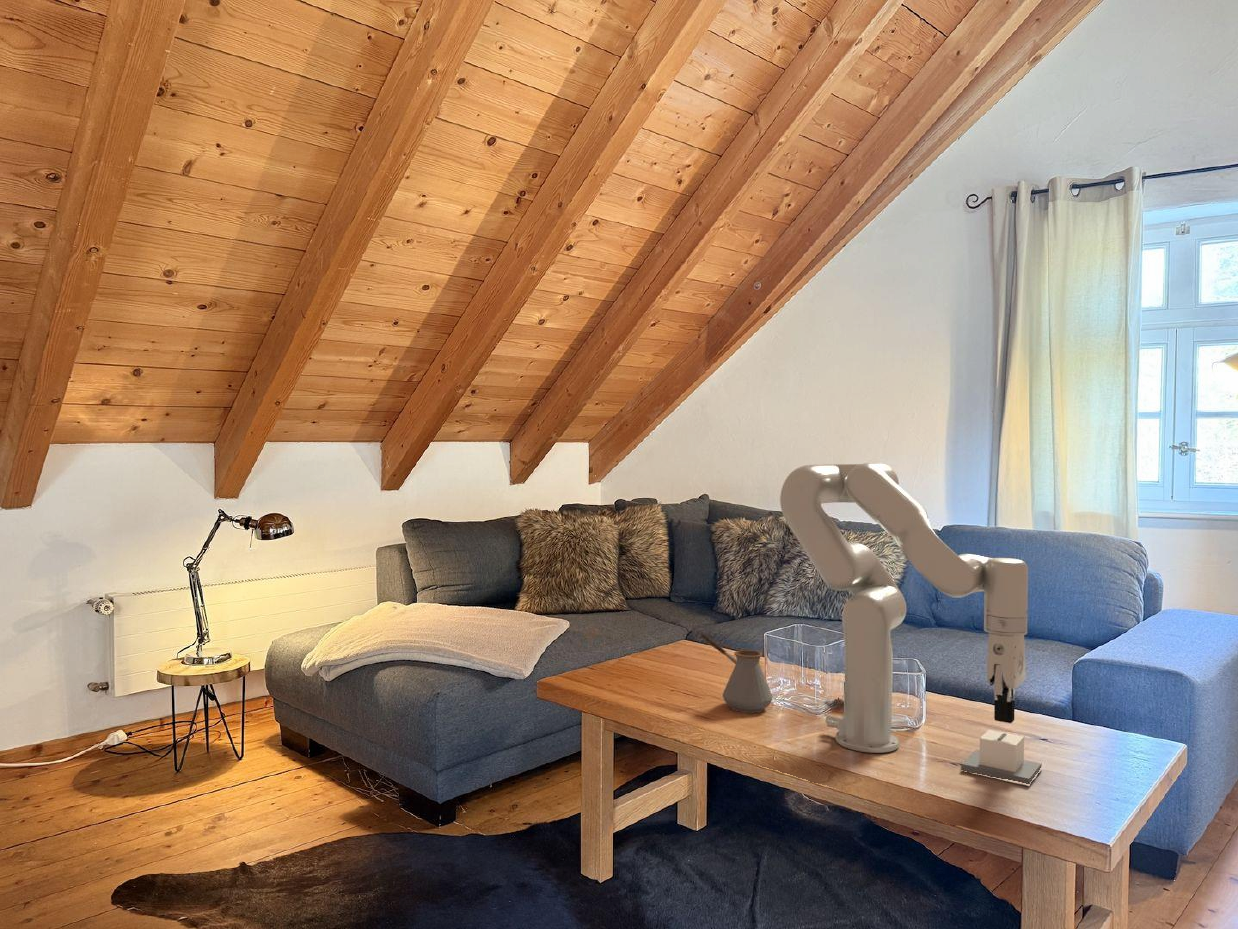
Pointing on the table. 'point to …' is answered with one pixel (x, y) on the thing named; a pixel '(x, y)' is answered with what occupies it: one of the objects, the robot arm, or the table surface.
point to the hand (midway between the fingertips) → (1004, 720)
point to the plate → (1021, 775)
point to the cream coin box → (1001, 750)
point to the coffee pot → (745, 681)
